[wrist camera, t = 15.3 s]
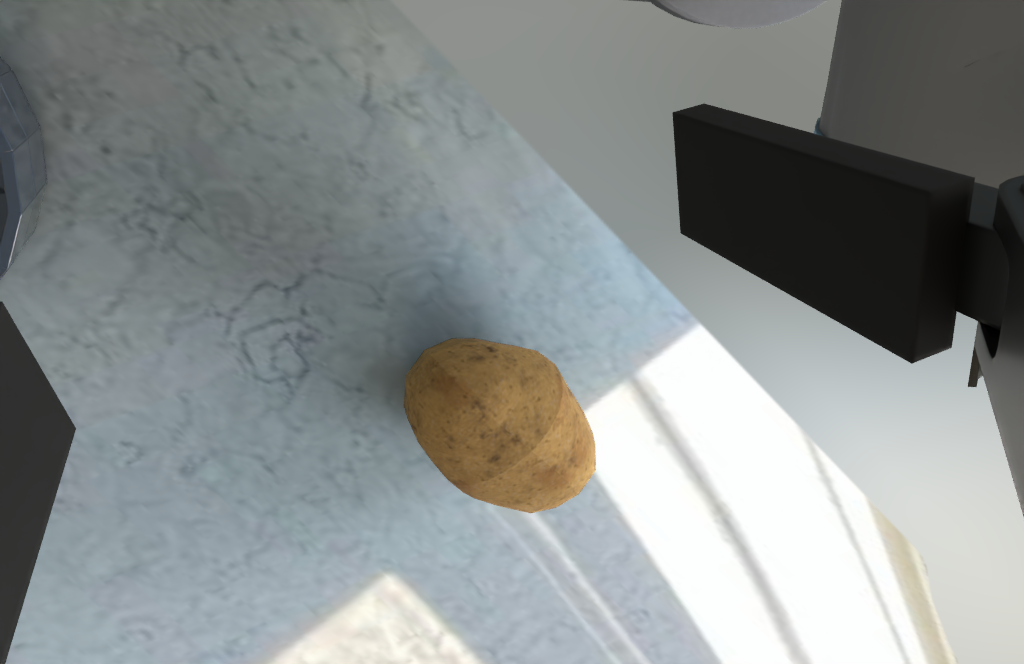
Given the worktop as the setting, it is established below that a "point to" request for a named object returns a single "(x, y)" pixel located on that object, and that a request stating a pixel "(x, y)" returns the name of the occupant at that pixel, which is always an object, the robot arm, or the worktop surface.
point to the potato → (500, 423)
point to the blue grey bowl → (18, 169)
